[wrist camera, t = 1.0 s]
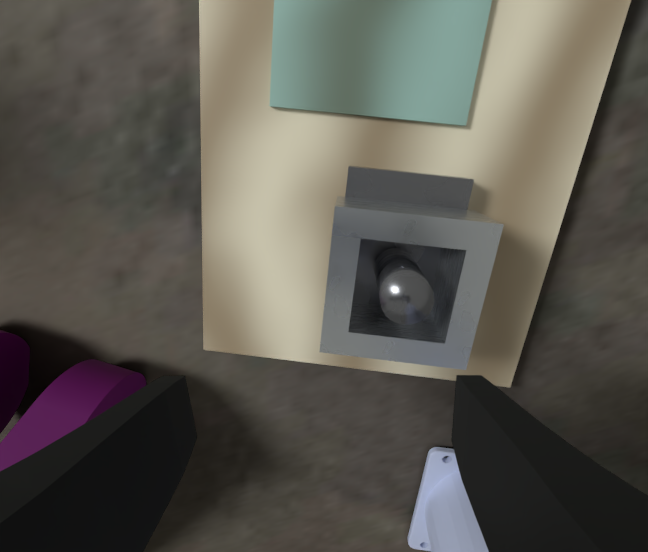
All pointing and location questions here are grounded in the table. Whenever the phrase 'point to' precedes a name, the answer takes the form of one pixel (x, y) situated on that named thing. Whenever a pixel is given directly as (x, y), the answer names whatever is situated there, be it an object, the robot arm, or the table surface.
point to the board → (386, 148)
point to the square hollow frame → (449, 288)
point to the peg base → (399, 258)
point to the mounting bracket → (54, 399)
